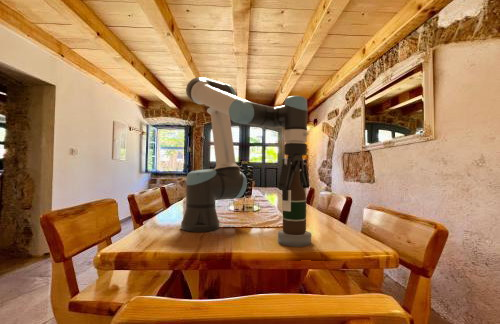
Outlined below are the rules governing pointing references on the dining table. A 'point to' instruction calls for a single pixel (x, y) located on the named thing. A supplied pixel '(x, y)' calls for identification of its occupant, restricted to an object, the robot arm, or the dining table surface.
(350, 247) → the dining table surface
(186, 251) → the dining table surface
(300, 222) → the beer bottle
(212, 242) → the dining table surface
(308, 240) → the slate pedestal
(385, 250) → the dining table surface
